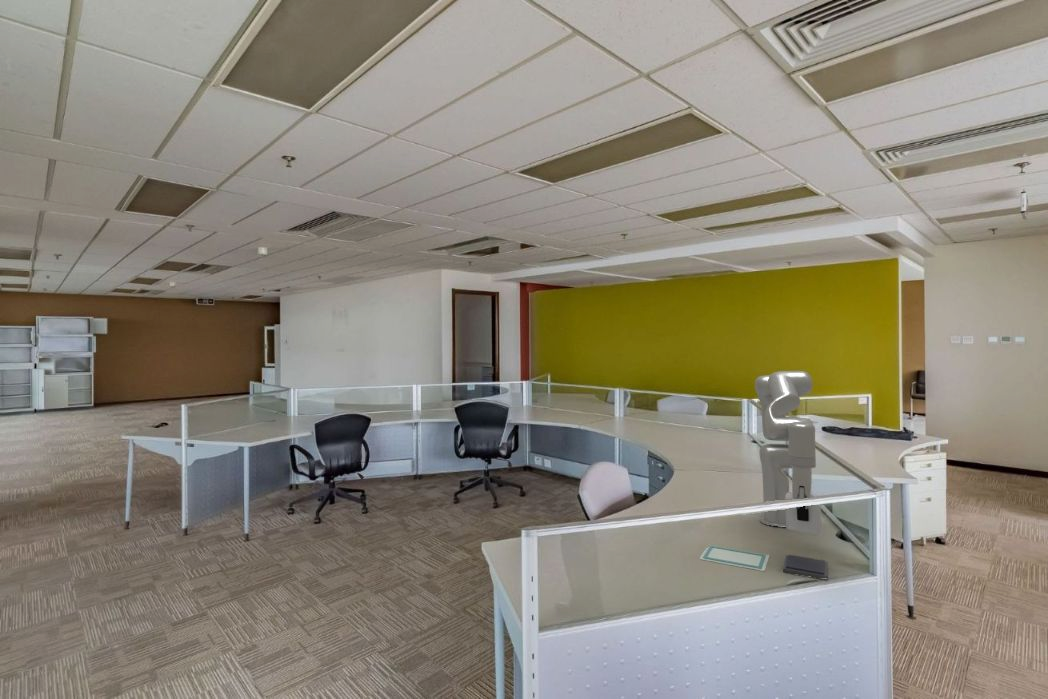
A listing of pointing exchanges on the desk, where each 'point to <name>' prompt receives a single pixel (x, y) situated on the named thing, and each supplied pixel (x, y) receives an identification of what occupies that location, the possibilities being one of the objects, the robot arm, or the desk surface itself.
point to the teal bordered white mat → (735, 557)
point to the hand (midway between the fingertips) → (803, 517)
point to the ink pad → (805, 566)
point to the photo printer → (803, 526)
